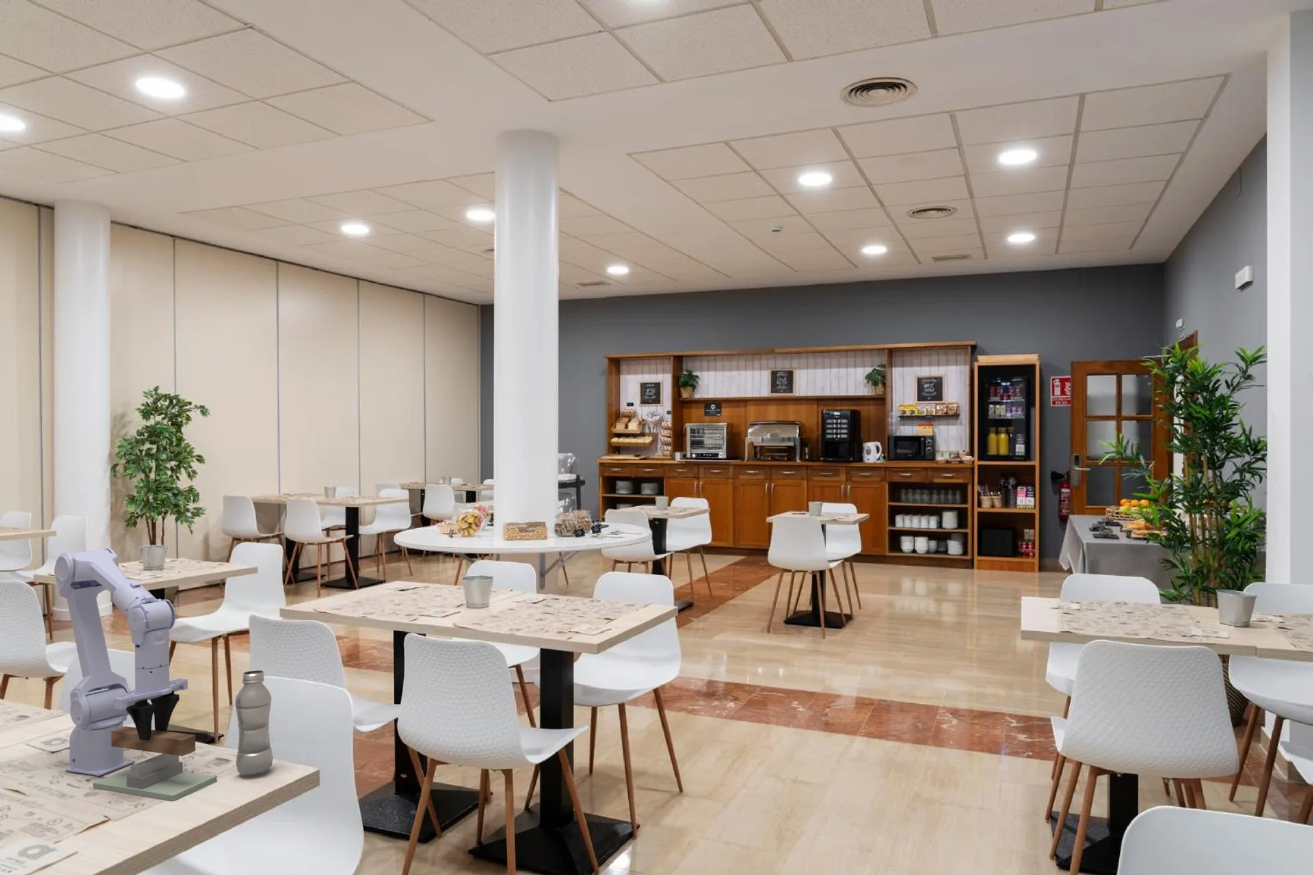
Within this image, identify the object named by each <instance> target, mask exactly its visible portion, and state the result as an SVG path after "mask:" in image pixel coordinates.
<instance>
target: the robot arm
mask: <svg viewBox="0 0 1313 875" xmlns="http://www.w3.org/2000/svg"><path fill="white" fill-rule="evenodd" d="M119 566H120V565H119V558H118V554H116V552H115V551H114V550H113V549H112V548H109V547H108V548H107V547H106V548H103V549H96V550H95V549H94V550H86V551H85V550H84V551H76V552H63V553H60V554H59V556H58V557H57V558H56V561H55V564H54V568H53V570H54V571H53V572H54V577H55V583H56V587H57V588H56V589H57V592H58V595H59V596H60V597H62V598H64V599H66V602H67V607H68V612H69V616H70V617H69V618H70V620H71V627H72V631H73V636H74V640H75V645H76V651H77V657H78V660H79V666H80V669H81V674H82V675H81V676H82V678H81V680H80V681H79V682H78V683H77V684H76V686H75V687H73V688H72V690H71V692H70V693H69V700H70V706H69V714H70V717H71V720H72V722H73V724H74V725H75V727H74V728H73V729H72V730H71V733H70V735H69V740H68V741H69V767H65V771H66V772H71V773H76V774H82V775H83V774H84V775H90V776H97V777H100V776H103V775H106V774H108V773H111V772H113V771H117V770H119V769H121V768H124V767H126V766H129V765H131V764H132V765H133V764H135V760H134V759H128V758H124V748H119V747H112V746H111V731H112V730H115V729H118V728H121V727H124V722H126V721H127V720H128V716H130V718H131V720H132V721H133V723H134V727H136V729H137V732H138V735H139V739H140V740H150V738H151V730H152V728H153V726H152V722H153V720H154V722H153V724H154V730H159V731H167V732H168V729H169V724H170V722H171V721H170V720H171V717H172V715H173V711H174V710H175V708H176V706H177V704H178V703H179V701H180V694H178V693H175V692H179V691H184V690H187V689H189V685H188V684H189V683H188V682H189V681H188V678H177V679H173V680H170V632H169V631H170V630H171V629H173V627H174V626H175V623H176V611H175V610H176V609H175V608H174V605H173V604H172V603H171V601H170V600H169V599H161V598H158V599H157V598H156V597H155V596H154V595H153V594H151V592H150V591H149V590H147V588H145V586H143V585H142V583H140V581H138V580H137V581H130V579H129V578H128V577H127V576H126V574H124V572H123V571H122V570H121V568H120V567H119ZM106 590H107V591H109V592H110V593H111V594H113V595H112V603H113V604H114V606H116V608H117V609H118V610H119V611H120V612H122V613H123V616H125V617H126V618H127V625H128V629H129V631H130V635H131V636H130V637H131V643H132V644H134V675H135V676H134V681H135V682H134V683H135V684H134V687H135V689H133V690H131V688H129V685H128V681H127V678H126V677H125V676H122V675H120V674H117V673H115V672H113V671H112V666H111V662H110V658H109V653H108V647H107V642H106V639H105V633H104V628H103V625H102V619H101V615H100V610H99V604H98V601H97V598H98V595H99V594H100V593H101V594H102V592H104V591H106ZM150 702H151V703H150ZM153 718H154V719H153Z"/></svg>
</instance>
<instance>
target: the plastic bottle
mask: <svg viewBox="0 0 1313 875" xmlns="http://www.w3.org/2000/svg"><path fill="white" fill-rule="evenodd" d="M264 676H265V674H264V670H260V669H255V670H248V671H247V670H246V671H245V672H242V682H241V683H242V684H243V686H242V687H241V688H240V689H239V691H238V693H237V694H236V696H235V699H234V705H235V706H234V707H235V711H236V716H237V726H238V745H237V746H238V747H237V751H236V752H237V753H236V759H235V766H236V770H237V772H238V773H239V774H240V776H241V775H242V776H246V777H247V776H257V775H261V774H264V773H265V774H266V773H267V772H268V771H270V769H271V767H272V766H273V761H274V755H273V750H272V747H271V741H270V729H269V728H270V727H269V724H270V714H271V713H270V712H271V705H272V704H271V703H272V695H271V692H270V690H269V689H268V688H267V687H266V686H265V684H264V683H263V682H264V681H265V677H264Z"/></svg>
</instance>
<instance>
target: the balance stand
mask: <svg viewBox="0 0 1313 875" xmlns="http://www.w3.org/2000/svg"><path fill="white" fill-rule="evenodd" d="M179 757H180V756H176V755H169V754H162V753H159V754H158V755H156V756H152V757H150V758H147V759H144V760H143V761H140V762H137V763H134V764H132V765H131V766H130V767H129V768H127V769H125V770H122V771H120V772H117V773H115V774H112V775H109V776H107V777H105V778H101V779H100V780H97V781H95V782H94V781H93V783H92V788H93V789H96V790H101V791H102V790H104V791H110V792H114V793H121V794H128V795H134V796H138V797H139V796H140V797H145V798H146V797H147V798H153V799H157V800H164V801H171V802H174V801H177V800H179V799H182V798H183V797H185V796H188V795H190V794H192V793H194V792H196V791H199V790H201V789H203V788H205V787H208V786H209V785H212V784H214V783H216V782H218V780H217V778H218V776H217V775H212V774H205V773H197V772H191V771H184V765H183V764H184V762H182V761H180V758H179Z"/></svg>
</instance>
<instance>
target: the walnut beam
mask: <svg viewBox="0 0 1313 875" xmlns="http://www.w3.org/2000/svg"><path fill="white" fill-rule="evenodd" d="M111 746H112V747H119V748H123V749H127V750H133V751H134V750H135V751H140V752H141V751H142V752H148V753H156V754H169V755H176V756H179V757H185V756H186V755H189V754H192V753H194V752H196V734H190V733H181V732H174V731H172V732H171V731H168V730H167V731H159V730H155V729H151V738H150V740H140V739H139V735H138V732H137V729H136V726H128V725H126V726H125V725H123V727H121V728H118V729H115V730H112V731H111Z"/></svg>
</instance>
